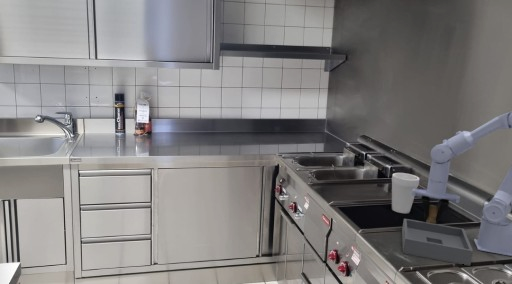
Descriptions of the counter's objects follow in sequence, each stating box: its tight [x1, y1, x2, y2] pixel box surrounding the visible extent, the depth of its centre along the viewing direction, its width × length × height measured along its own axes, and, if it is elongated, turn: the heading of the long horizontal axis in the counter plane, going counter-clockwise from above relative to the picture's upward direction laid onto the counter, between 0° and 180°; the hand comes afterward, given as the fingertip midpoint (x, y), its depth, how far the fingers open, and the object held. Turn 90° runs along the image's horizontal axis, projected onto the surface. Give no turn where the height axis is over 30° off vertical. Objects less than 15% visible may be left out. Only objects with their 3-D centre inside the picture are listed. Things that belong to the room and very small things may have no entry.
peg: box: [425, 204, 439, 224], centre depth 149 cm, size 3×3×6 cm
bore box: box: [401, 218, 474, 267], centre depth 136 cm, size 18×17×4 cm
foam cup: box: [391, 172, 420, 214], centre depth 165 cm, size 10×9×13 cm
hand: (431, 219), depth 149 cm, fingers closed on peg, 3 cm apart
